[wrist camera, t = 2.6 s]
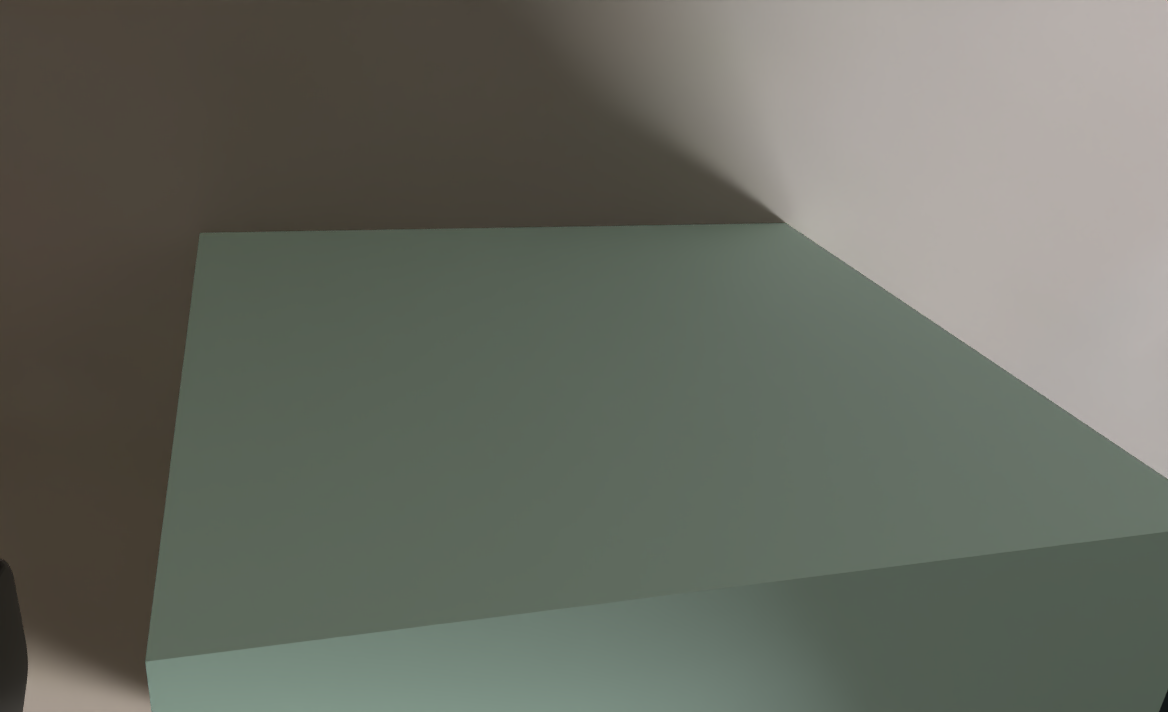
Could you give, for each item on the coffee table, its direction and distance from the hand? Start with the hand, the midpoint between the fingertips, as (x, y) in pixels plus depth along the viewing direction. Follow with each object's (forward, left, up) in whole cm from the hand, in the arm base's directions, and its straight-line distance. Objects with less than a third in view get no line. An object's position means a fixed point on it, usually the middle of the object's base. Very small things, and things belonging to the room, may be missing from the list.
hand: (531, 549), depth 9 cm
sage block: (0, 0, -1) cm, 1 cm away
